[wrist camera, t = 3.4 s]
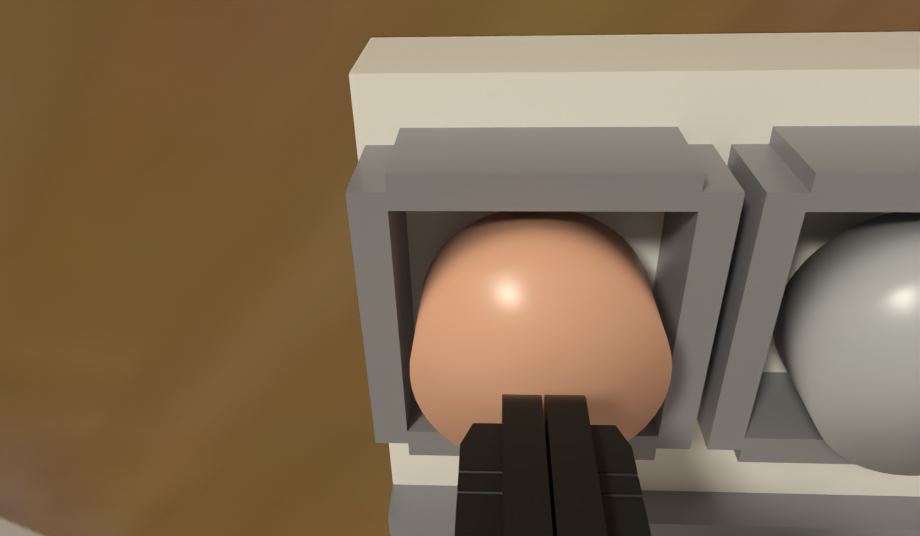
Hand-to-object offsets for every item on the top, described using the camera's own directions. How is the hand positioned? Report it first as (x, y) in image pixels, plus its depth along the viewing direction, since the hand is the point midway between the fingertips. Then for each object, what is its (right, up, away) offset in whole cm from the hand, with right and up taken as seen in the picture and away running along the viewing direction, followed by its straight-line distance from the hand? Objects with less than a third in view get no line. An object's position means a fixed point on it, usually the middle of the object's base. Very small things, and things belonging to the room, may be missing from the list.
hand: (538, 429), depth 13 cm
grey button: (+8, +2, +3) cm, 9 cm away
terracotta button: (0, +2, +3) cm, 4 cm away
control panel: (+5, 0, +9) cm, 10 cm away
